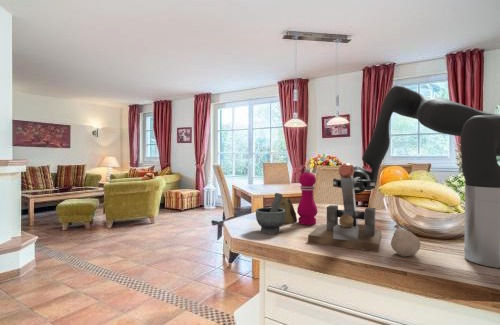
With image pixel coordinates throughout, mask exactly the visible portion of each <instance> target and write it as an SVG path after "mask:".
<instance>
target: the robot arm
mask: <svg viewBox="0 0 500 325" xmlns="http://www.w3.org/2000/svg"><path fill="white" fill-rule="evenodd" d="M393 113H396V114H398V115H399V116H403V117H406V118H411V119H415V120H418V122H419V123H420V125H422V126H423V127H425V128H427V129H429V130H432V131H434V132H437V133H440V134H443V135H444V134H445V135H449V136H454V137H455V136H456V137H460V152H461V153H460V156H461V171H462V174H463V176H464V180H465V182H464V184H465V186H464V245H463V246H464V247H463V248H464V249H463V251H464V255H463V257H464V258H465V260H467V261H469V262H471V263H474V264H477V265H481V266H485V267H490V268H496V269H500V164H499V162H498V159H497V157H500V113H499V114H498V113H492V112H487V111H482V110H480V109H477V108H474V107H471V106H468V105H464V104H463V103H459V102H456V101H453V100H449V99H446V98H442V97H432V98H428V97H426V96H424V95H422V94H421V93H418V91H416V90H415V91H414V90H412V89H410V88H408V87H405V86H404V85H400V84H397V85H396V84H395V85H393V87H391V88H390V89H389V91H387V93H386V95H385V98H384V100H383V102H382V105H381V109H380V111H379V115H378V118H377V121H376V124H375V127H374V130H373V134H372V136H371V139H370V141H369V143H368V145H367V147H366V149H365V150H364V153H363V155H362V157H361V160H362V162H363V163H365V164H367V165H368V166H369V168H370V169H371V171H369V170H367V169H365V168H362V167H360V166H354V167H353V168H354V174H353V180H354V191H355V195H358V194H359V195H360V194H362V193H363V192H365V191H372V190H374V189H375V188H376V185H377V182H378V177H379V170H380V168H381V165H382V162H383V160H384V159H385V157H386V154H387V153H388V150H389V147H390V140H391V139H390V121H391V117H392V115H393ZM332 187H334V188H339V189H342V186H341V178H337V177H336V178H335V177H334V178H333V179H332Z"/></svg>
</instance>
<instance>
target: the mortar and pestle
mask: <svg viewBox="0 0 500 325" xmlns="http://www.w3.org/2000/svg"><path fill="white" fill-rule="evenodd" d="M283 198H284V195H283V194H282V193H280V192H274V199H273V200H272V203H271V206H270V207H260V208H256V209H255V218H256V221H257V224H258V225H259V227H260V233H263V234H267V235H277V234H280V233H281V231H280V227H282V225H283V224H284V223H283V222H284V220H285V215H286V211H285V209H280V208H279V207H280V202H281V199H283Z"/></svg>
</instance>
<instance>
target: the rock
mask: <svg viewBox="0 0 500 325" xmlns="http://www.w3.org/2000/svg"><path fill="white" fill-rule="evenodd" d="M279 208H280V209H285V211H286V215H285V220H284V222H283V224H285V223H286V224H292V223H293V224H294V223H298V216H297V213H296V212H297V211H295V208H294V205H293V203H292V201H291V199H290V197H282V199H281V202H280V207H279Z"/></svg>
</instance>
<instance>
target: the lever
mask: <svg viewBox="0 0 500 325" xmlns="http://www.w3.org/2000/svg"><path fill="white" fill-rule="evenodd" d="M337 171H338V175H339V176H340V179H341V186H342V188H341V194H342V202H343V209H338V210H337V217H338V218H340V217H341V216H342V215H345V214H347V215H350V216H351V217H352V218H353V225H352V226H355V227H358V226H359V224H358V223H359V220H365V211H359V210H357V203H356V194H355V191H354V180H353V174H354V167H353V165H352V164H351V163H347V162H346V163H341V165H340V166H339V167H338V170H337Z"/></svg>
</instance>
